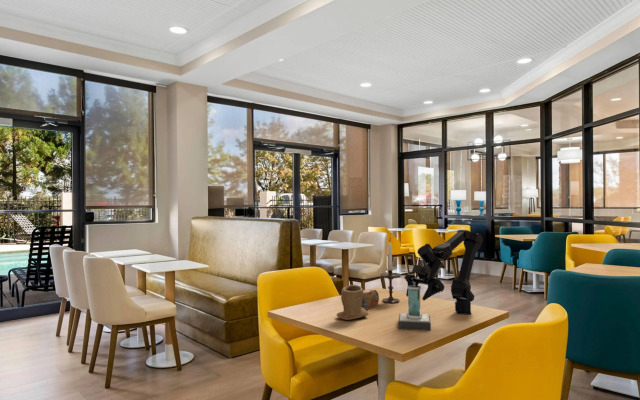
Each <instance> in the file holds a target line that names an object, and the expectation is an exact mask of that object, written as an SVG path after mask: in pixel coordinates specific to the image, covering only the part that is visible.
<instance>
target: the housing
mask: <svg viewBox="0 0 640 400" xmlns="http://www.w3.org/2000/svg"><path fill="white" fill-rule="evenodd" d="M407 288H408V297H407V301H408V303H407V304H408V312H406V313H407V314H406V317H407V318H410V319H421V318H423V315H422V314H423V313H421V289H422V288H421V285H418V286H416V285H410V286H408V285H407ZM407 288H406V289H407Z"/></svg>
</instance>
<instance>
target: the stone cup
mask: <svg viewBox="0 0 640 400" xmlns="http://www.w3.org/2000/svg"><path fill="white" fill-rule="evenodd" d="M340 294H341V295H340V299H341V303H342V306H343V311H340V312H338V313H336V317H337V318H339V319H341V320H345V321H348V320H355V319H359V318H363V317H366V316H369V312H368V311H367V309H365V308H362V307H361V305H362V300H363V296H364V289H363V288H362V286H361V285H359V284H358V285H357V284H349V285H346V286H344V287H343V288H342V289H341V293H340Z"/></svg>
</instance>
